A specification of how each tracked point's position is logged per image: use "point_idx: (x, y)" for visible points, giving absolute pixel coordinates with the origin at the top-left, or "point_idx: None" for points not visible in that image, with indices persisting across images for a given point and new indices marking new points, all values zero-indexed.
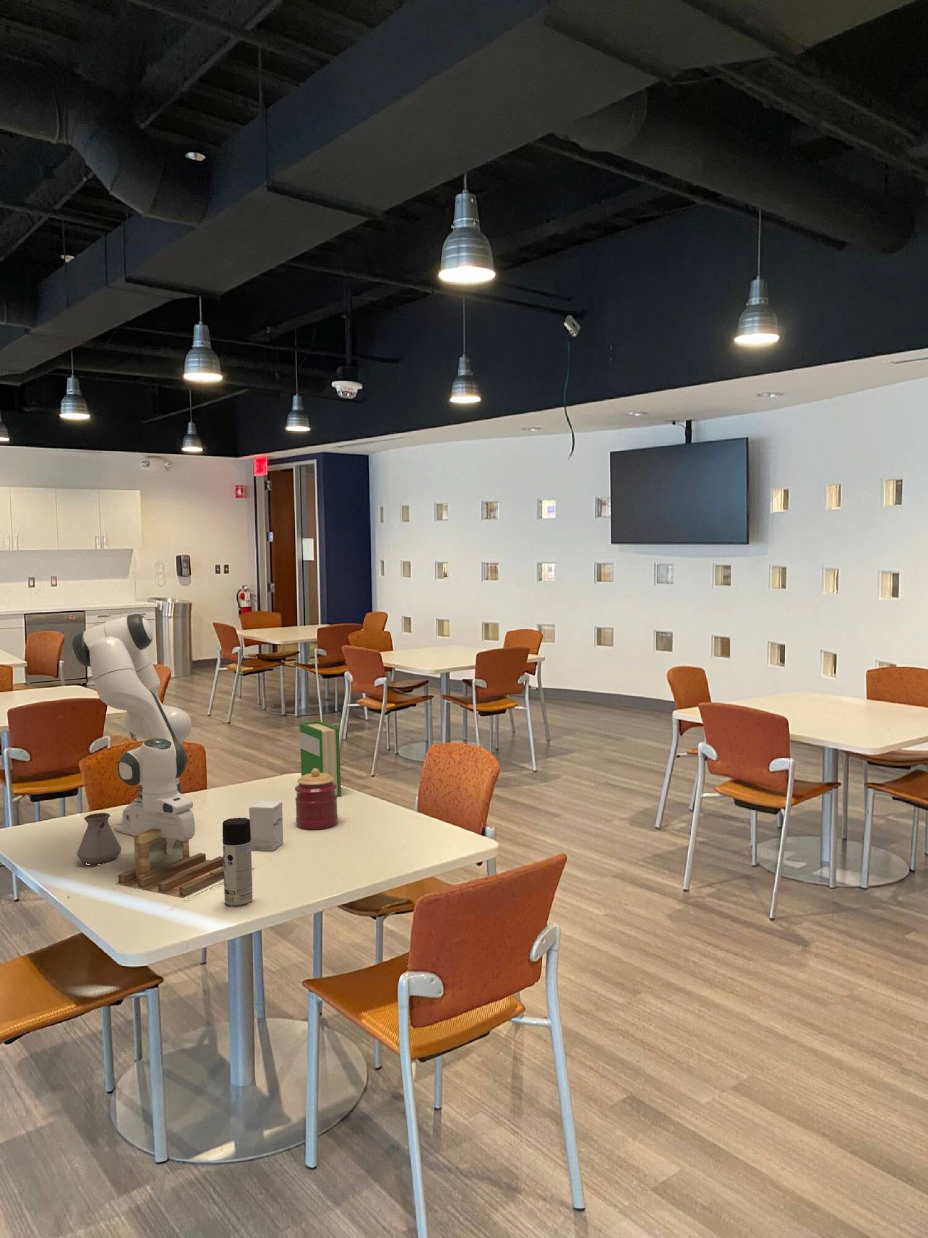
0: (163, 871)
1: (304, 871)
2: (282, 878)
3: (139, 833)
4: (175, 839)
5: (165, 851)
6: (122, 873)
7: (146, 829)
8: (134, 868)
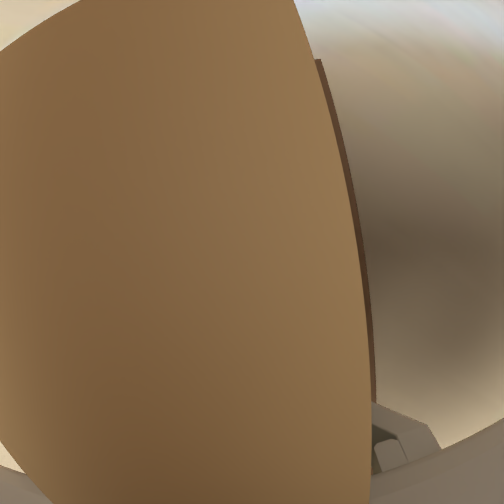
0: None
1: None
2: (2, 448)
3: (219, 246)
4: (12, 471)
5: None
6: (325, 89)
7: (478, 499)
8: (352, 195)
